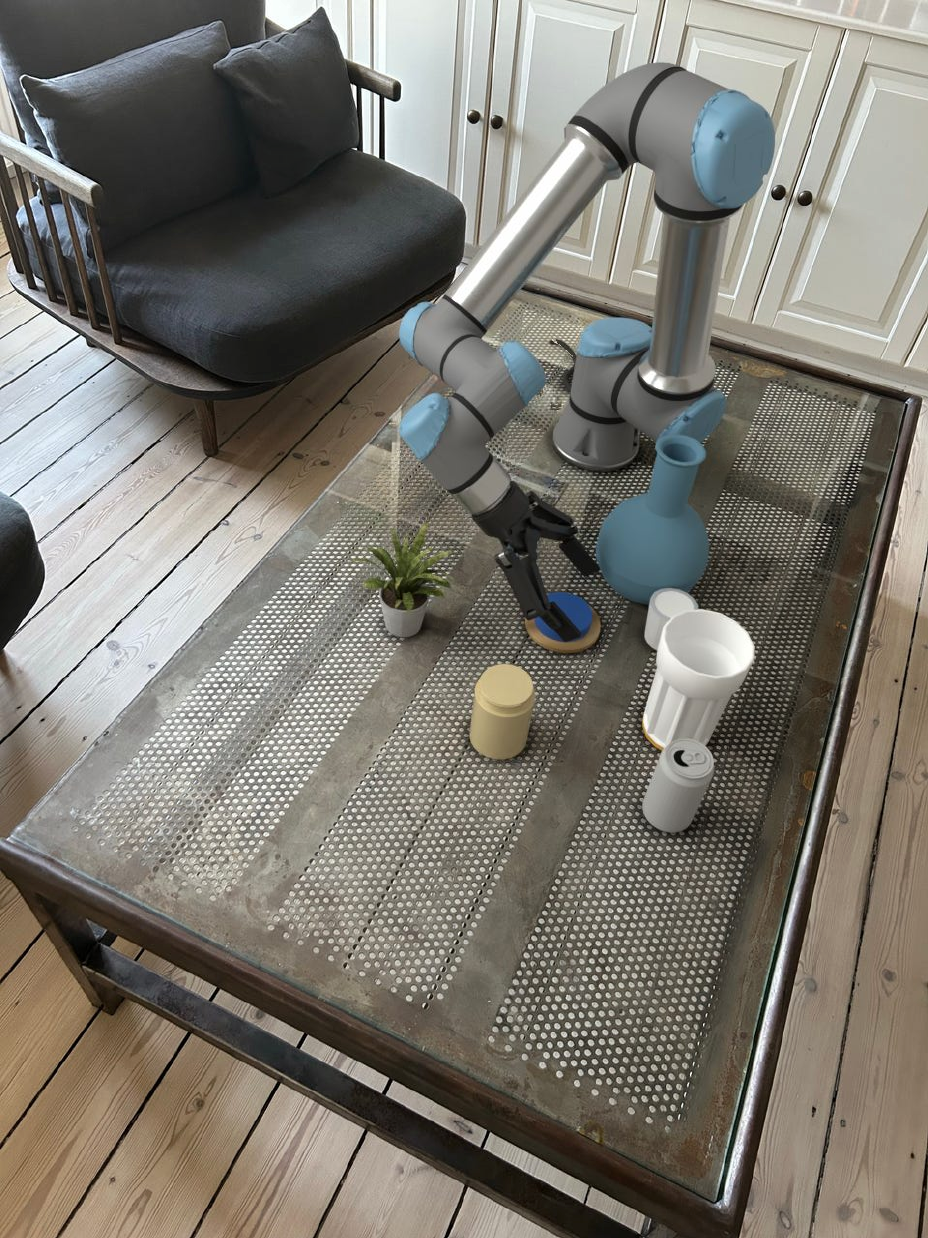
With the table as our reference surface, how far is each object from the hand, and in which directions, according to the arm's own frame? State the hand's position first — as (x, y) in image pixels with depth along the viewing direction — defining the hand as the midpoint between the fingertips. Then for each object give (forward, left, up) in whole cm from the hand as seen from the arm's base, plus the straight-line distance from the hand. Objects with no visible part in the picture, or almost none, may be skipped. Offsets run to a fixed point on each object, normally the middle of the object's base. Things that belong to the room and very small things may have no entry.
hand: (583, 604), depth 139 cm
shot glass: (+6, +11, -5) cm, 14 cm away
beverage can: (+32, -4, -5) cm, 32 cm away
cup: (+21, +4, -5) cm, 22 cm away
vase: (-6, +14, -5) cm, 16 cm away
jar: (+14, -19, -5) cm, 24 cm away
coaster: (-1, -2, -5) cm, 6 cm away
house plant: (-8, -25, -5) cm, 27 cm away
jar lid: (-1, -2, -3) cm, 4 cm away
